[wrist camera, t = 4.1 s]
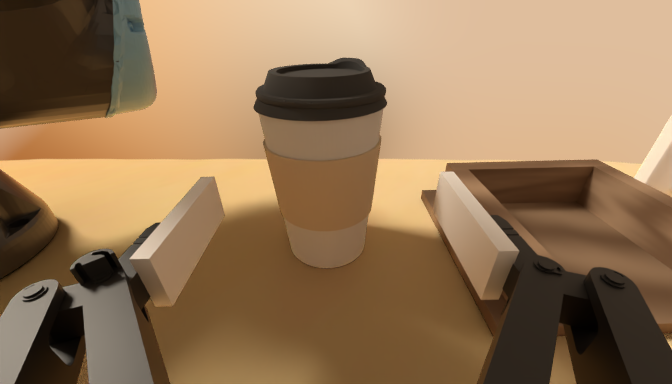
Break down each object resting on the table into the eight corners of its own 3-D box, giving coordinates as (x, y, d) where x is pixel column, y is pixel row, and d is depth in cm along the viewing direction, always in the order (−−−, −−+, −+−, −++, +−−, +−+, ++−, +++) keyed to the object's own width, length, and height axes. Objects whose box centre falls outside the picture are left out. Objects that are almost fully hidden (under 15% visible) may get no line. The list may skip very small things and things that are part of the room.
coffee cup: (327, 298, 20) (315, 77, 12) (257, 242, 26) (219, 64, 18) (396, 238, 26) (417, 59, 18) (327, 202, 31) (320, 54, 23)
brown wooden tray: (780, 330, 17) (854, 273, 15) (494, 337, 17) (519, 282, 15) (578, 194, 32) (599, 153, 29) (421, 198, 32) (427, 157, 29)
